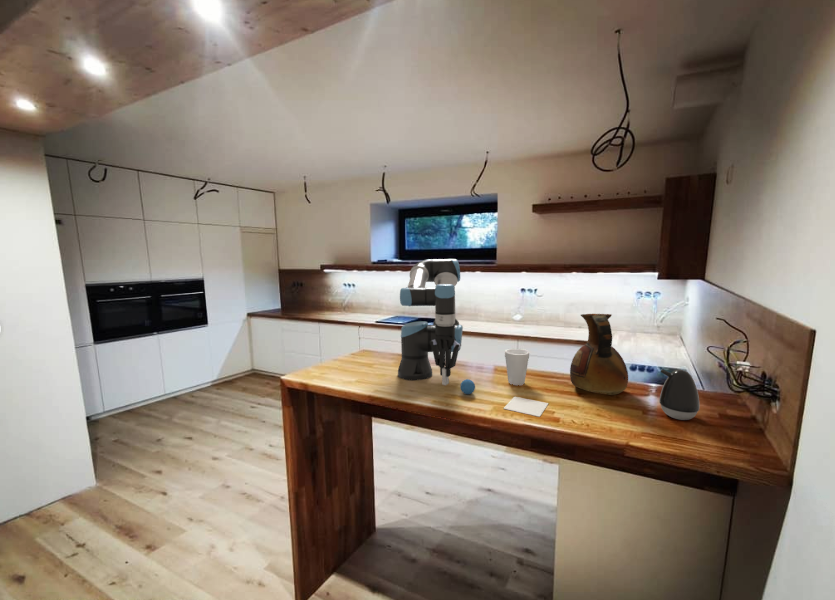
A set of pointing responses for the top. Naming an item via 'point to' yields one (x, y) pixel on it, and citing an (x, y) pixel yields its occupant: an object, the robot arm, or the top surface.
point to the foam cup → (516, 365)
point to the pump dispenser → (679, 395)
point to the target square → (526, 406)
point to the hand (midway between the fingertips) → (445, 383)
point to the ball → (467, 386)
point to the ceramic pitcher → (599, 360)
